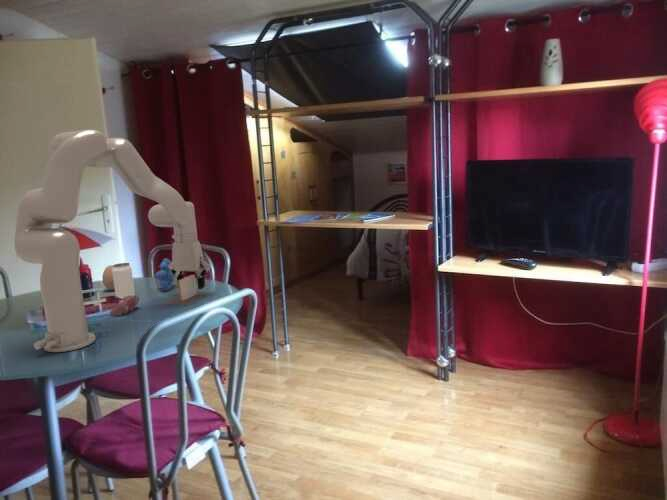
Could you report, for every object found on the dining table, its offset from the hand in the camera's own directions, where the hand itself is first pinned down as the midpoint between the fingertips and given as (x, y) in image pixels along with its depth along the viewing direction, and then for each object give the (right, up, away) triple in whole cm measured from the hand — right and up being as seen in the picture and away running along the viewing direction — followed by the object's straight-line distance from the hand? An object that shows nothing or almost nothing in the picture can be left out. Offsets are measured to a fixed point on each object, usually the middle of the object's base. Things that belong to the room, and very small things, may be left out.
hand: (191, 287), depth 181 cm
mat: (-1, -4, -2) cm, 5 cm away
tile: (-1, -3, -2) cm, 4 cm away
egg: (-34, -2, +17) cm, 39 cm away
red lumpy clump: (-17, -8, -15) cm, 24 cm away
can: (-25, -4, +6) cm, 26 cm away
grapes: (-13, -2, +12) cm, 18 cm away
